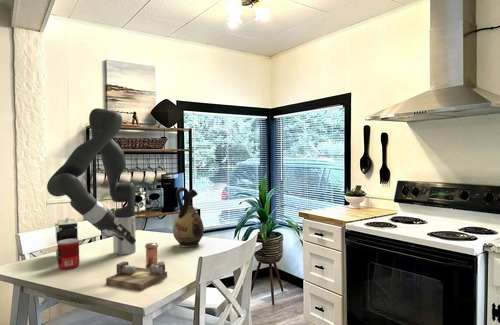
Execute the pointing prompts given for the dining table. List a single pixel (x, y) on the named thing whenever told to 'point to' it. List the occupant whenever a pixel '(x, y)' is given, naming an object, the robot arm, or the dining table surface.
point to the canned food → (68, 254)
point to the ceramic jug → (187, 221)
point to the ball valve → (66, 230)
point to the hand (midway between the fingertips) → (128, 240)
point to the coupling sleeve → (151, 254)
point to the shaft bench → (137, 276)
